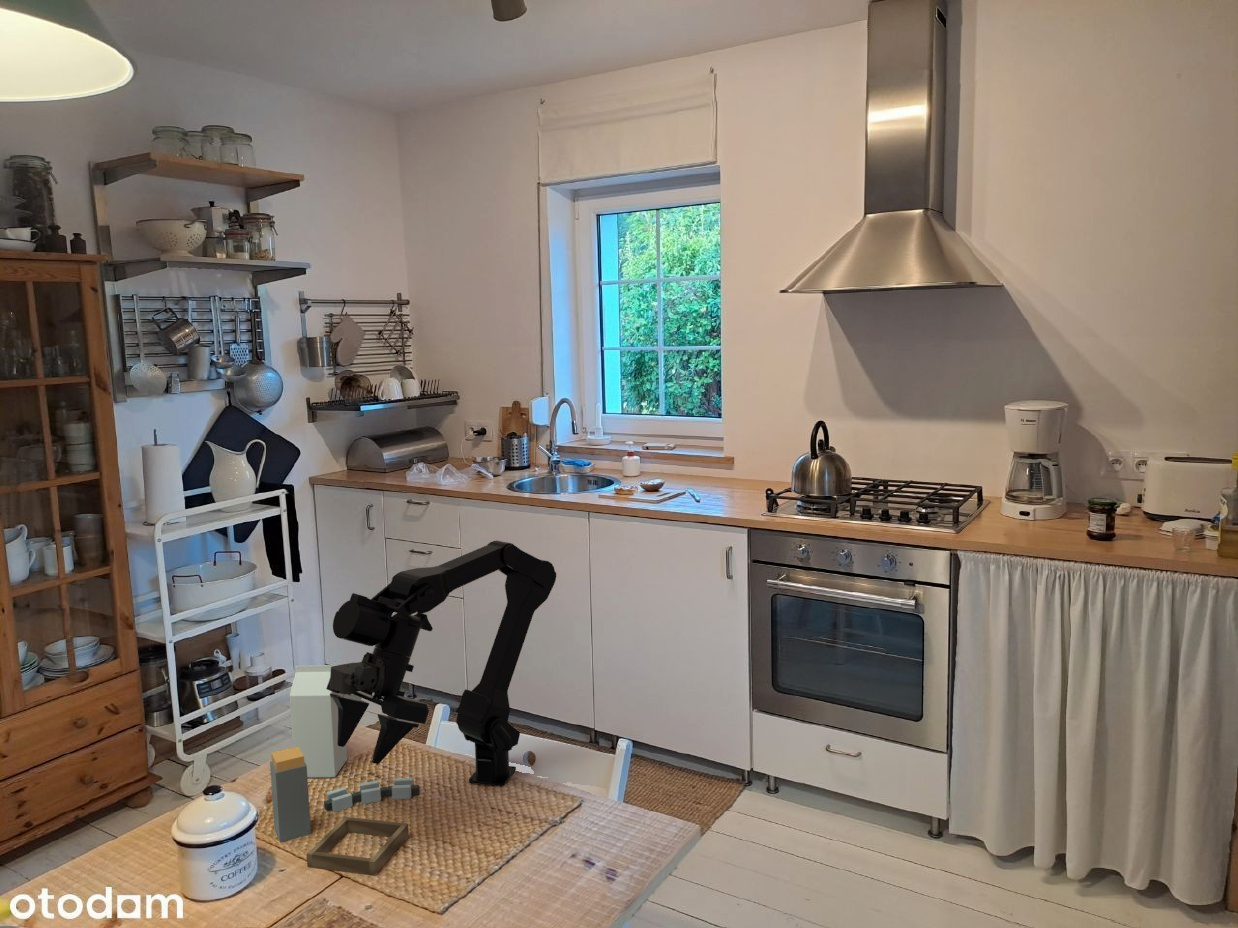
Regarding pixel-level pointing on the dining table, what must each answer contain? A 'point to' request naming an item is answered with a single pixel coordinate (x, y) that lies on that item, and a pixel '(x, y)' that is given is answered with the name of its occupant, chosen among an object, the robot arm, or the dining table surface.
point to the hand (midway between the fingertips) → (357, 754)
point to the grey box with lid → (290, 794)
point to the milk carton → (316, 721)
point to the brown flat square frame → (352, 863)
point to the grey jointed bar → (370, 794)
